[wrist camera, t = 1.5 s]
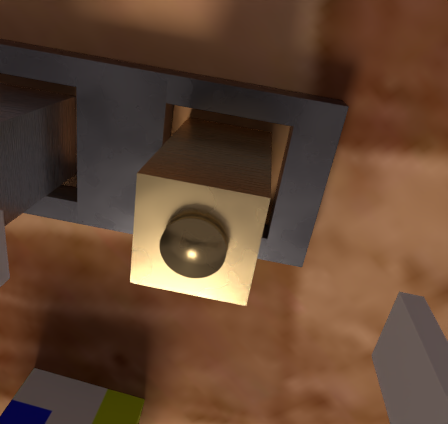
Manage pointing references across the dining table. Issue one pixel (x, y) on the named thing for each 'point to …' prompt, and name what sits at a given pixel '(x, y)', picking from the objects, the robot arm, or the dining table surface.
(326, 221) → the dining table surface
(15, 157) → the silver block with knob
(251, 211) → the tan block with knob
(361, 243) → the dining table surface
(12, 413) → the puzzle toy
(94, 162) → the grey flat plate
